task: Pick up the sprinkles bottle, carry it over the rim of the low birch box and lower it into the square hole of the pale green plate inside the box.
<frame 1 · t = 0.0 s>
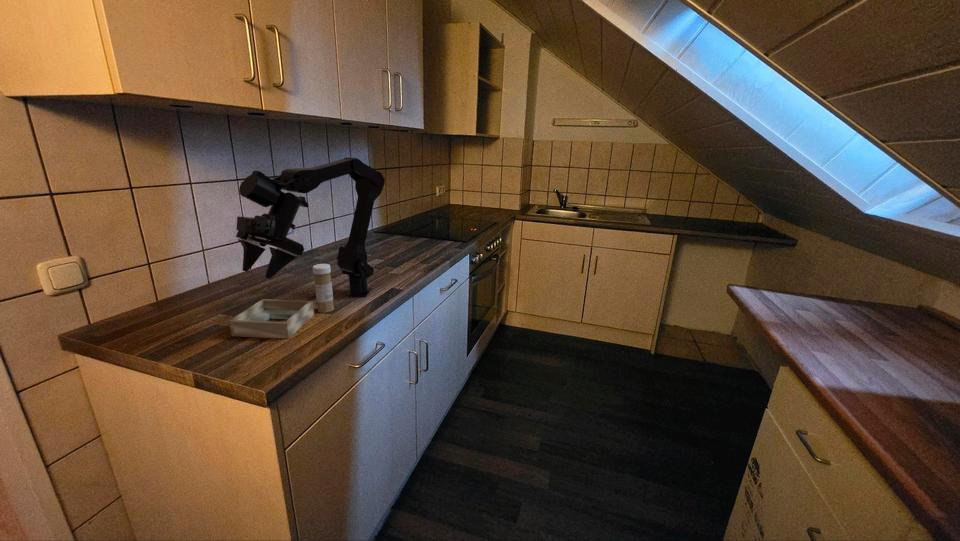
hand: (255, 274, 90), 15 cm above the worktop, tool tilted 35°, fingers open, 9 cm apart
sprinkles bottle: (325, 310, 107), on the worktop
peg box: (275, 324, 98), on the worktop
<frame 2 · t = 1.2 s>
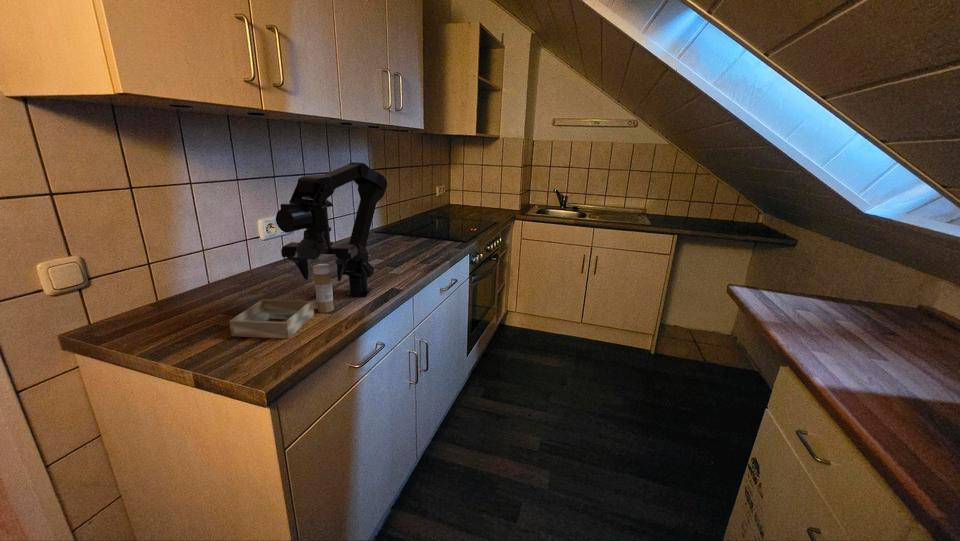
hand: (323, 280, 105), 9 cm above the worktop, tool pointing down, fingers open, 9 cm apart
nothing on the worktop moved.
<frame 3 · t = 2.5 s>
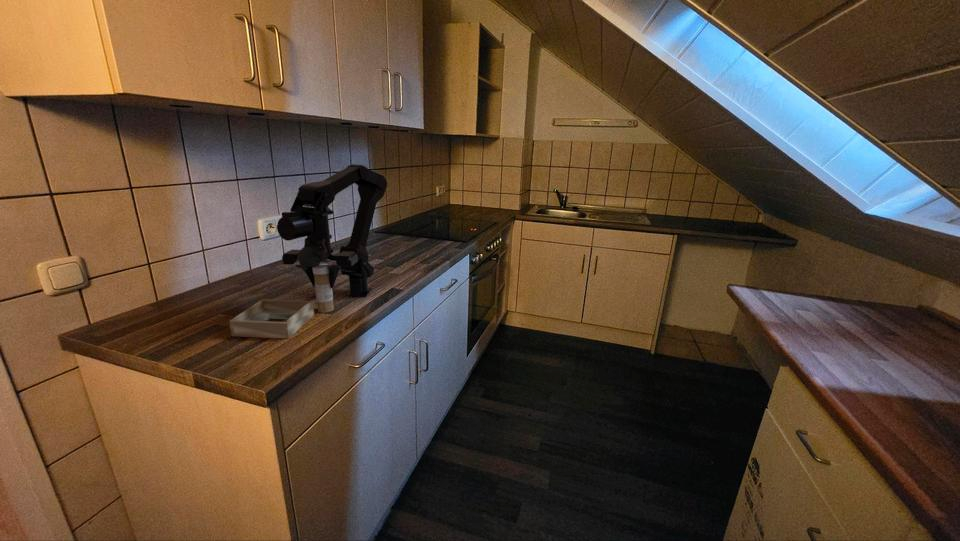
hand: (323, 287, 105), 7 cm above the worktop, tool pointing down, fingers closed on sprinkles bottle, 4 cm apart
sprinkles bottle: (325, 310, 107), on the worktop, touching gripper
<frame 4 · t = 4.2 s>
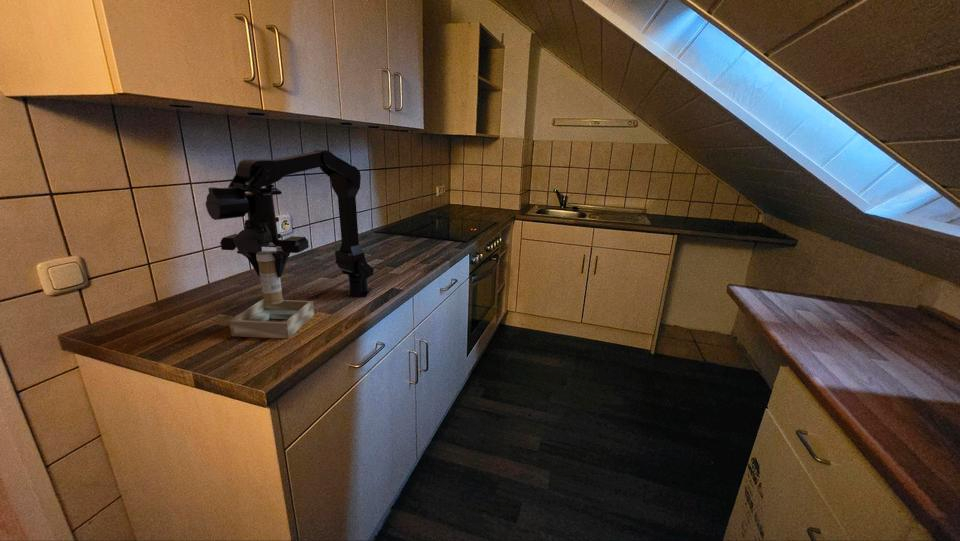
hand: (270, 276, 94), 13 cm above the worktop, tool pointing down, fingers closed on sprinkles bottle, 4 cm apart
sprinkles bottle: (273, 303, 96), point 6 cm above the worktop, touching gripper
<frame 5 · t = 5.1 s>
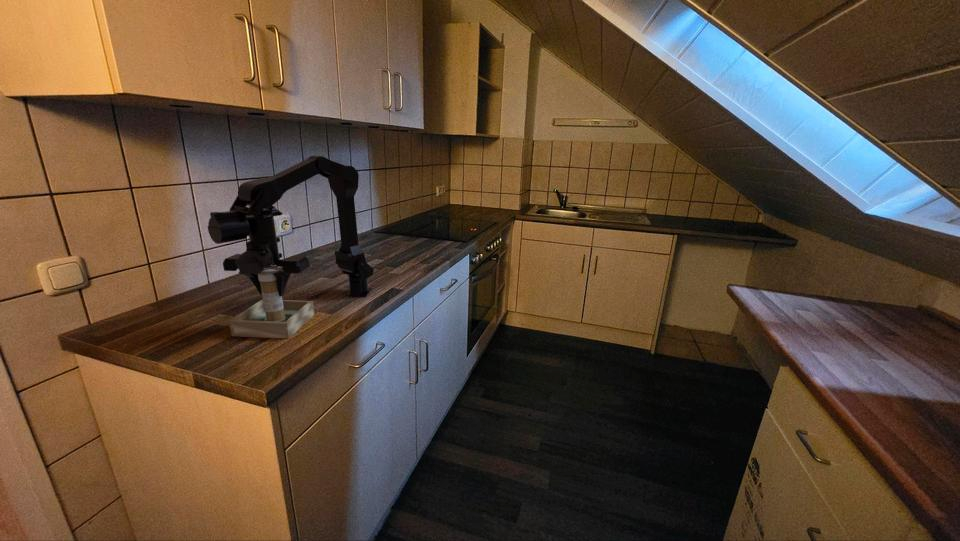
hand: (272, 295, 95), 8 cm above the worktop, tool pointing down, fingers closed on sprinkles bottle, 4 cm apart
sprinkles bottle: (276, 321, 98), point 1 cm above the worktop, touching gripper
when the fingers open (8 cm above the worktop, at t = 5.9 s): sprinkles bottle stays where it is, resting in peg box.
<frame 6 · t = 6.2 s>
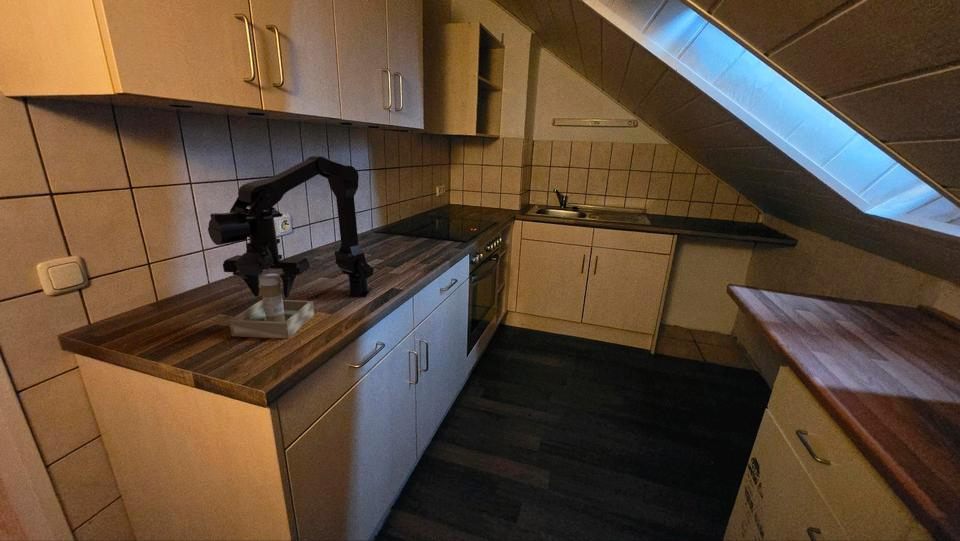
hand: (271, 296, 95), 8 cm above the worktop, tool pointing down, fingers open, 7 cm apart
sprinkles bottle: (276, 325, 98), resting in peg box
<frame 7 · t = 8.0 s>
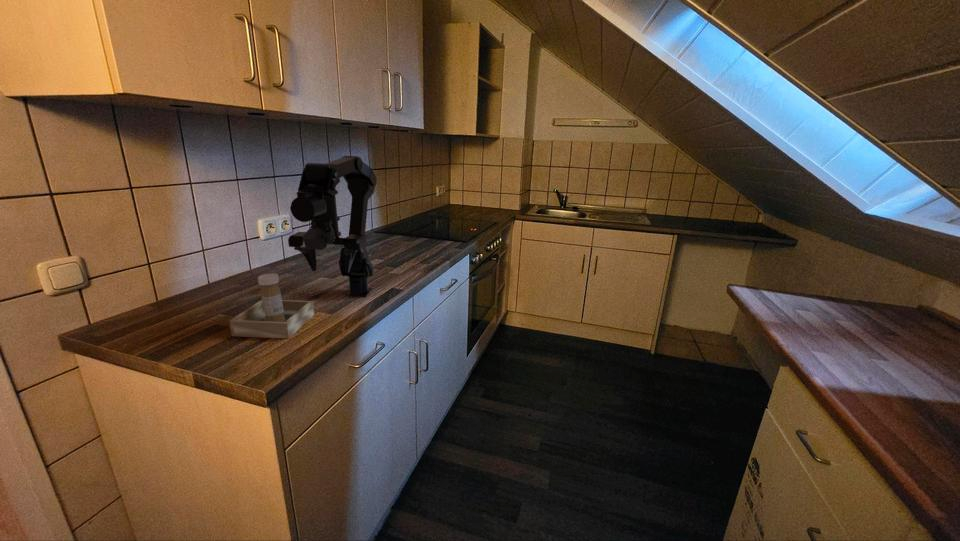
hand: (331, 271, 101), 13 cm above the worktop, tool pointing down, fingers open, 9 cm apart
nothing on the worktop moved.
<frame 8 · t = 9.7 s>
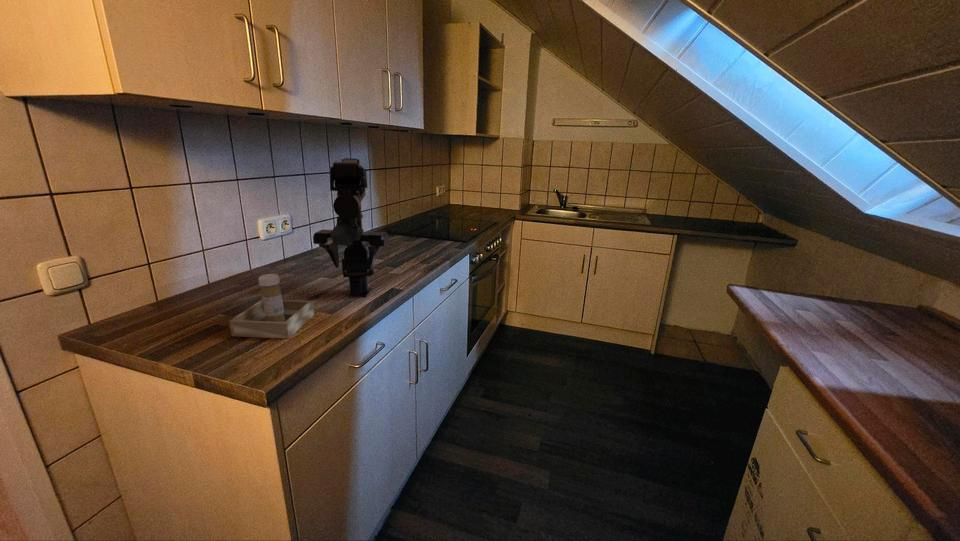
hand: (353, 268, 103), 13 cm above the worktop, tool pointing down, fingers open, 9 cm apart
nothing on the worktop moved.
at the end: sprinkles bottle 0.1 cm from the peg box (horizontally); sprinkles bottle touching worktop; sprinkles bottle tilted 0° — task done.
